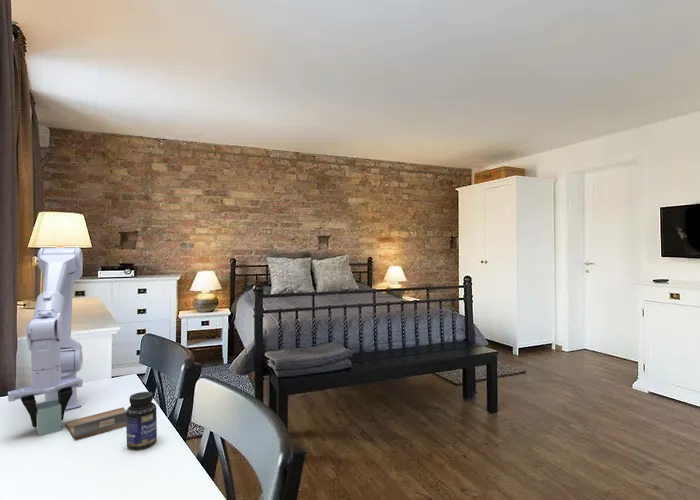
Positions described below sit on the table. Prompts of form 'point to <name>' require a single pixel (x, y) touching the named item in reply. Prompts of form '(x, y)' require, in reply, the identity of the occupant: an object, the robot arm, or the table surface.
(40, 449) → the table surface
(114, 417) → the shelf board
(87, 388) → the table surface
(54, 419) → the carton
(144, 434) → the pill bottle
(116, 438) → the table surface
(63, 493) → the table surface
